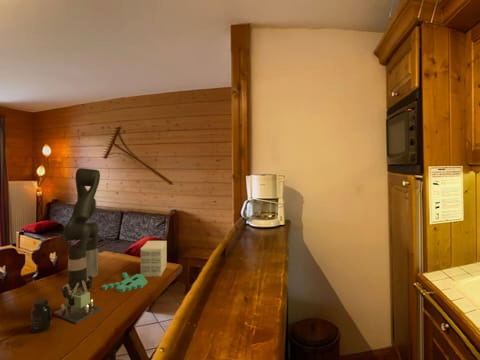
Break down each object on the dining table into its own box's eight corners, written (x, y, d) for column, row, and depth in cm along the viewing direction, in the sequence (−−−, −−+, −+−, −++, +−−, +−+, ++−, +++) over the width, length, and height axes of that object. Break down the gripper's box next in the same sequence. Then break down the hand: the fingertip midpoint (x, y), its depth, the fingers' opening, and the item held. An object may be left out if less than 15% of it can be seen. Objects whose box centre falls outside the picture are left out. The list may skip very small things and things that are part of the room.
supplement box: (147, 266, 184) (147, 240, 183) (166, 266, 185) (167, 240, 184) (139, 276, 167) (139, 248, 166) (161, 276, 168) (161, 248, 167)
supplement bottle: (38, 323, 116) (37, 297, 116) (54, 323, 117) (54, 296, 116) (27, 333, 110) (26, 305, 109) (44, 333, 110) (44, 305, 109)
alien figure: (101, 290, 149) (134, 294, 145) (101, 286, 149) (134, 290, 145) (123, 275, 169) (152, 279, 165) (123, 272, 169) (153, 275, 165)
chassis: (53, 314, 123) (53, 303, 123) (78, 302, 134) (78, 292, 134) (76, 323, 117) (76, 312, 117) (100, 310, 128) (100, 300, 127)
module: (65, 304, 124) (65, 293, 124) (75, 299, 129) (75, 289, 129) (81, 308, 122) (80, 296, 121) (90, 302, 126) (89, 291, 126)
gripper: (86, 260, 133) (86, 294, 133) (56, 270, 119) (56, 307, 120) (96, 263, 129) (97, 297, 130) (67, 274, 116) (67, 311, 117)
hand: (77, 302), depth 125 cm, fingers closed on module, 5 cm apart
